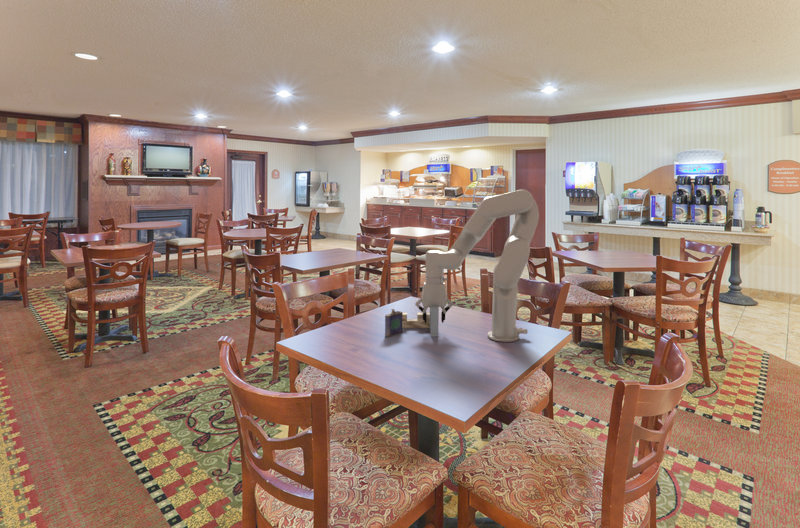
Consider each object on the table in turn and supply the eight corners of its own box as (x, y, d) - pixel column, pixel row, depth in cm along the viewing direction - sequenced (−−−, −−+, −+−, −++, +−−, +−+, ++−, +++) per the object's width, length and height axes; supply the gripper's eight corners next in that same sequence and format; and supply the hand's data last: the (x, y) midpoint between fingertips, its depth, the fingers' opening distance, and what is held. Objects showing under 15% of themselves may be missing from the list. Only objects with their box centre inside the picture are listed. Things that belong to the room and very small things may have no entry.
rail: (434, 325, 197) (434, 312, 196) (435, 327, 194) (435, 314, 193) (389, 325, 197) (389, 312, 196) (389, 327, 194) (389, 314, 193)
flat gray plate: (429, 328, 193) (429, 302, 191) (436, 328, 193) (436, 302, 191) (431, 336, 183) (431, 308, 181) (438, 336, 183) (438, 308, 181)
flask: (387, 337, 182) (387, 312, 180) (382, 335, 184) (382, 310, 182) (403, 332, 188) (403, 307, 186) (398, 330, 190) (398, 306, 188)
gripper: (454, 278, 188) (453, 319, 191) (413, 278, 188) (413, 319, 191) (456, 282, 180) (455, 324, 183) (413, 281, 180) (413, 324, 183)
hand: (433, 321), depth 187 cm, fingers open, 6 cm apart
